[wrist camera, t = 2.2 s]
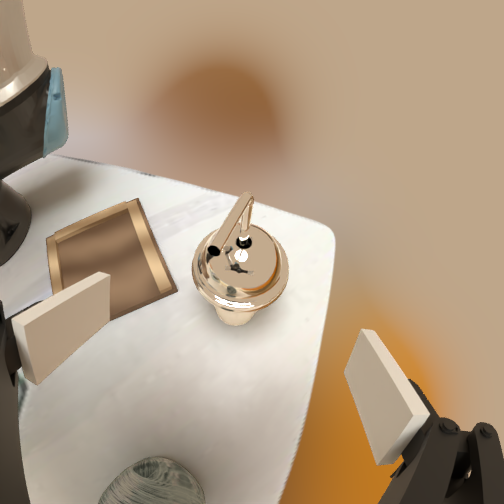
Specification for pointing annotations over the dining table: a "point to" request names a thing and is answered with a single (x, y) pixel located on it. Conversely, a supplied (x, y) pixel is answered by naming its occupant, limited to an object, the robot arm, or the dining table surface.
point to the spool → (154, 485)
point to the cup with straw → (240, 266)
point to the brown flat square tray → (112, 257)
